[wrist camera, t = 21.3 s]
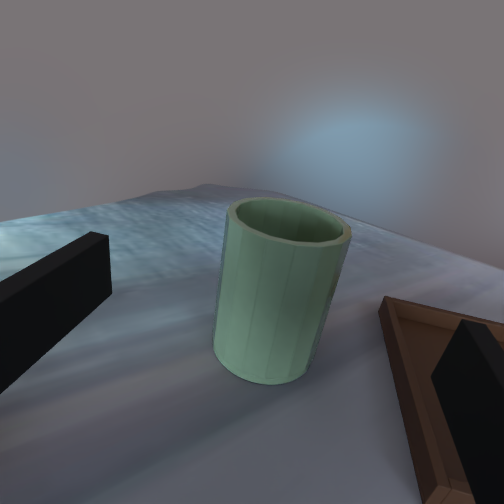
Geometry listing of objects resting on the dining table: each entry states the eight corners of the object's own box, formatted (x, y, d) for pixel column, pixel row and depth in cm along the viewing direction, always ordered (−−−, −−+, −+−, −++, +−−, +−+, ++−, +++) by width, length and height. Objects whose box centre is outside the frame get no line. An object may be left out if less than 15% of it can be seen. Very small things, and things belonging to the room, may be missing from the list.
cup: (314, 325, 27) (348, 211, 22) (309, 398, 20) (356, 258, 16) (228, 303, 28) (244, 190, 23) (197, 367, 21) (210, 226, 17)
